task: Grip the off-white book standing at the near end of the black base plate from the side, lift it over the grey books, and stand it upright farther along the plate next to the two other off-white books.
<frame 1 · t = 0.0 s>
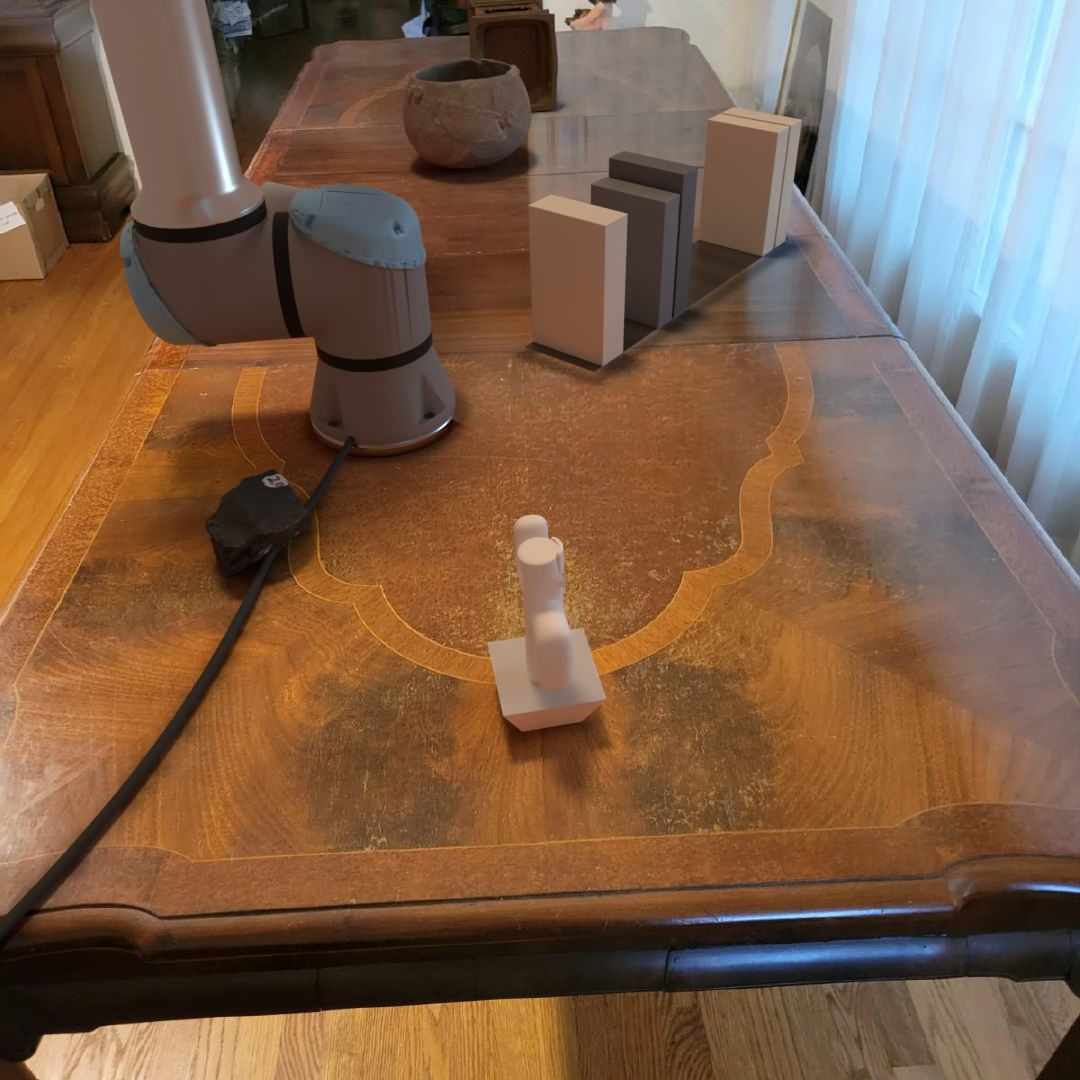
hand: (253, 30, 123), 28 cm above the table, tool pointing down, fingers open, 13 cm apart
white book: (577, 347, 112), point 1 cm above the table, touching black base plate
white books: (741, 240, 135), resting on black base plate
clay pot: (470, 164, 167), on the table
ornamental box: (510, 90, 202), on the table
grey books: (638, 307, 120), resting on black base plate
figurine: (546, 706, 72), on the table
mineral: (272, 546, 88), on the table
black base plate: (668, 296, 125), on the table
ceramic mug: (298, 236, 144), on the table
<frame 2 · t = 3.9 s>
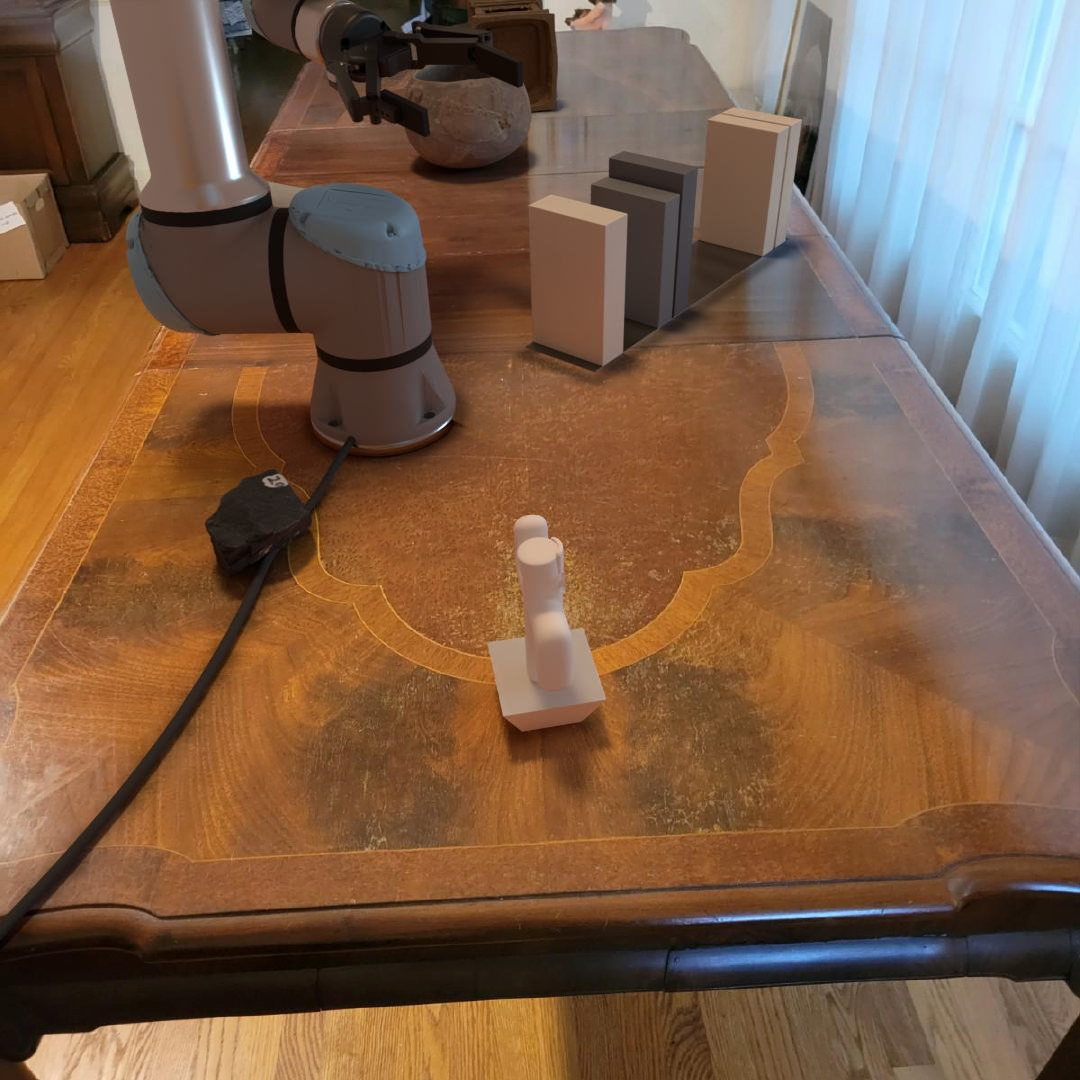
hand: (475, 98, 102), 27 cm above the table, tool horizontal, fingers open, 13 cm apart
nothing on the table moved.
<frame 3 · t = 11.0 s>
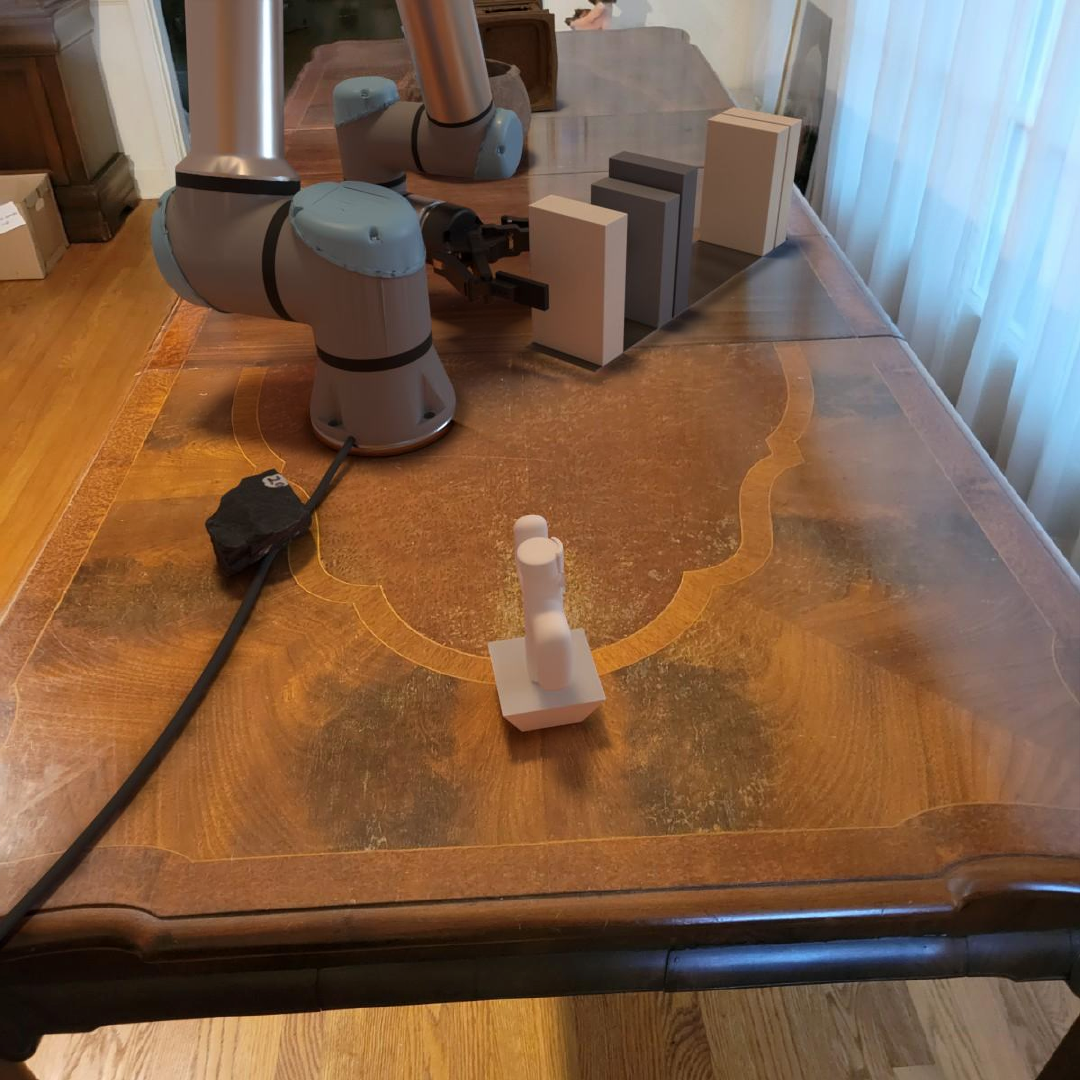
hand: (586, 275, 106), 10 cm above the table, tool horizontal, fingers open, 13 cm apart
nothing on the table moved.
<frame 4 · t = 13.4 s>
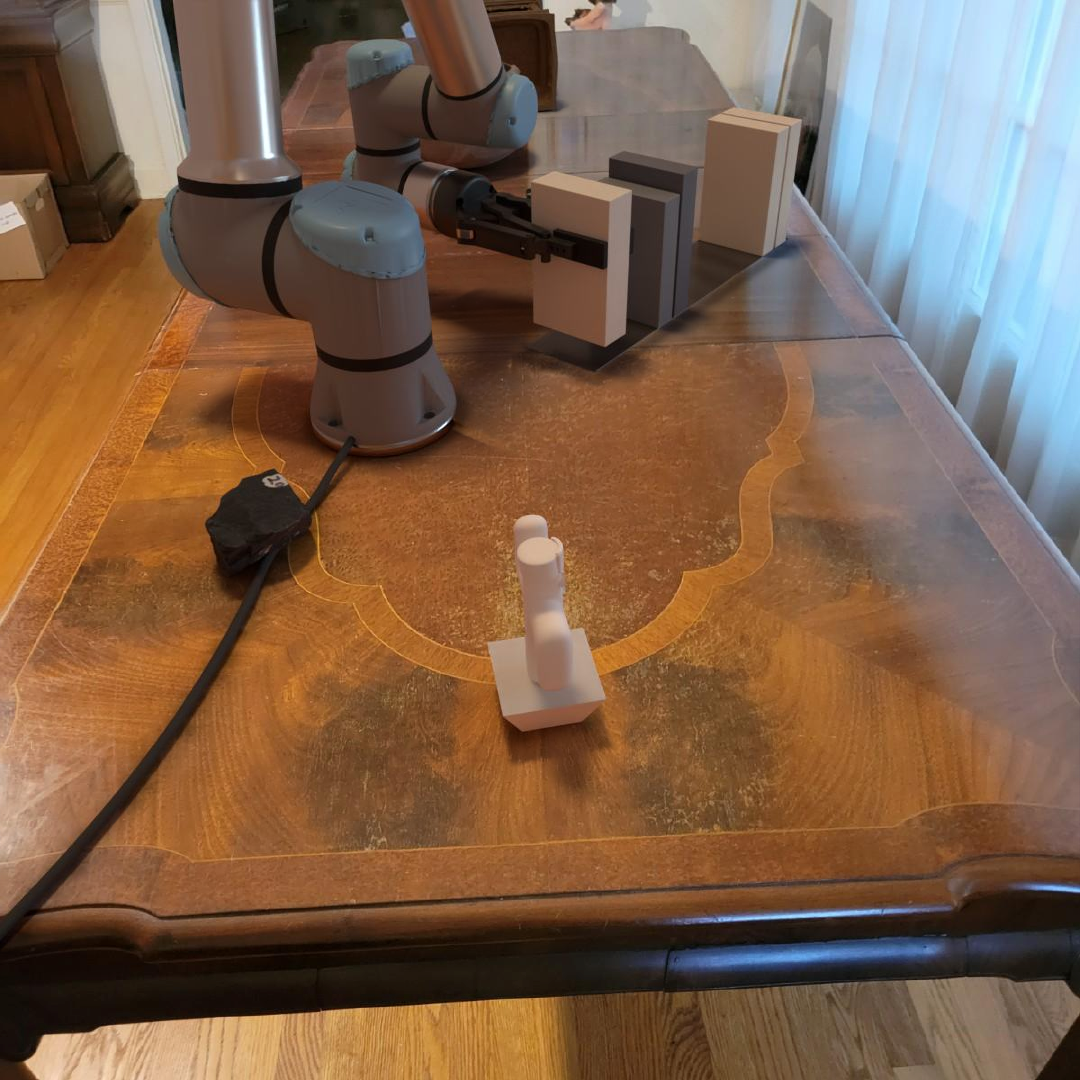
hand: (618, 248, 101), 14 cm above the table, tool horizontal, fingers closed on white book, 4 cm apart
white book: (579, 328, 110), point 4 cm above the table, touching gripper
everything else where it was.
when the fingers open (11 cm above the table, at t = 24.7 s): white book stays where it is, resting on black base plate.
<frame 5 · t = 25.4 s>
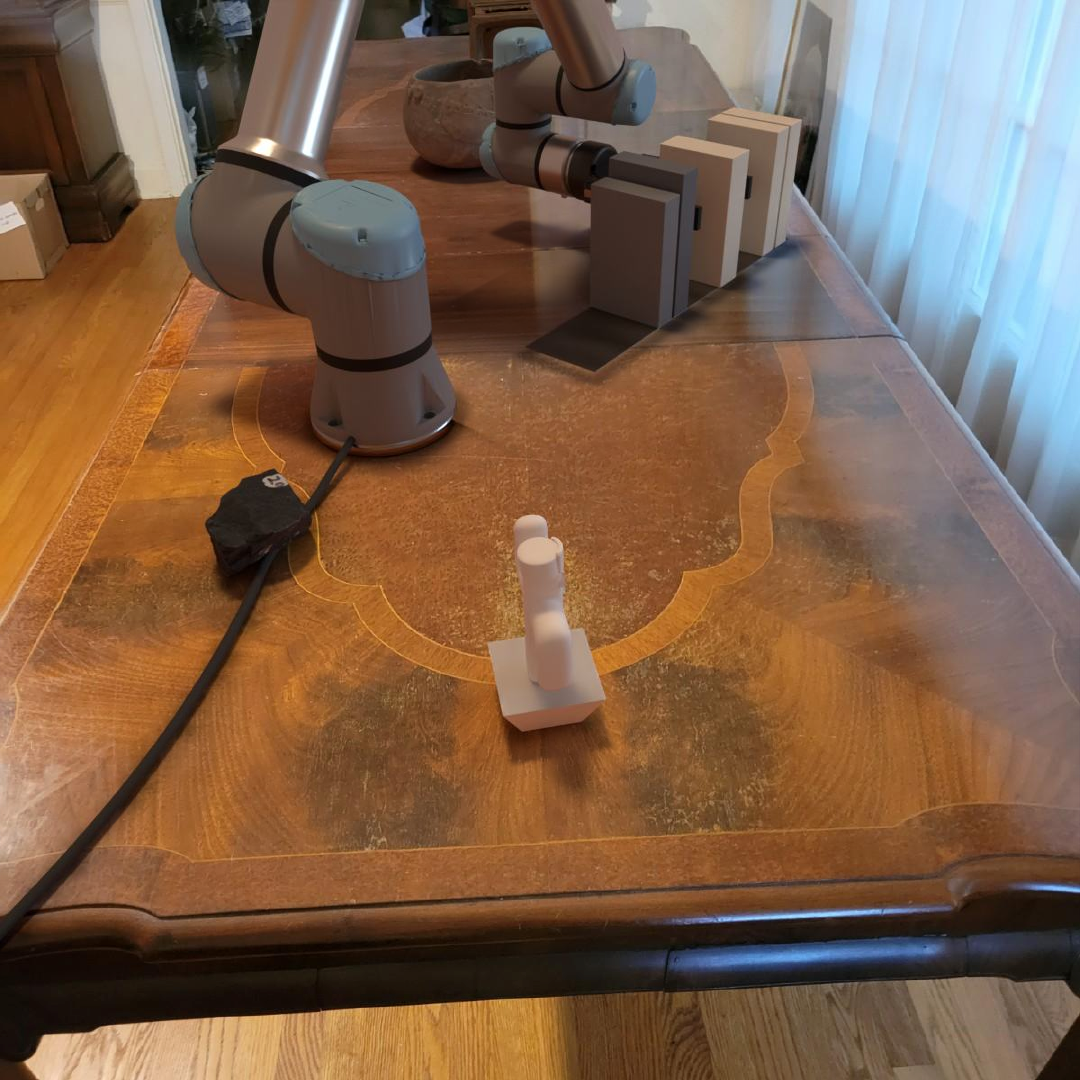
hand: (725, 203, 120), 11 cm above the table, tool horizontal, fingers open, 12 cm apart
white book: (694, 273, 127), point 1 cm above the table, touching black base plate
everything else where it was.
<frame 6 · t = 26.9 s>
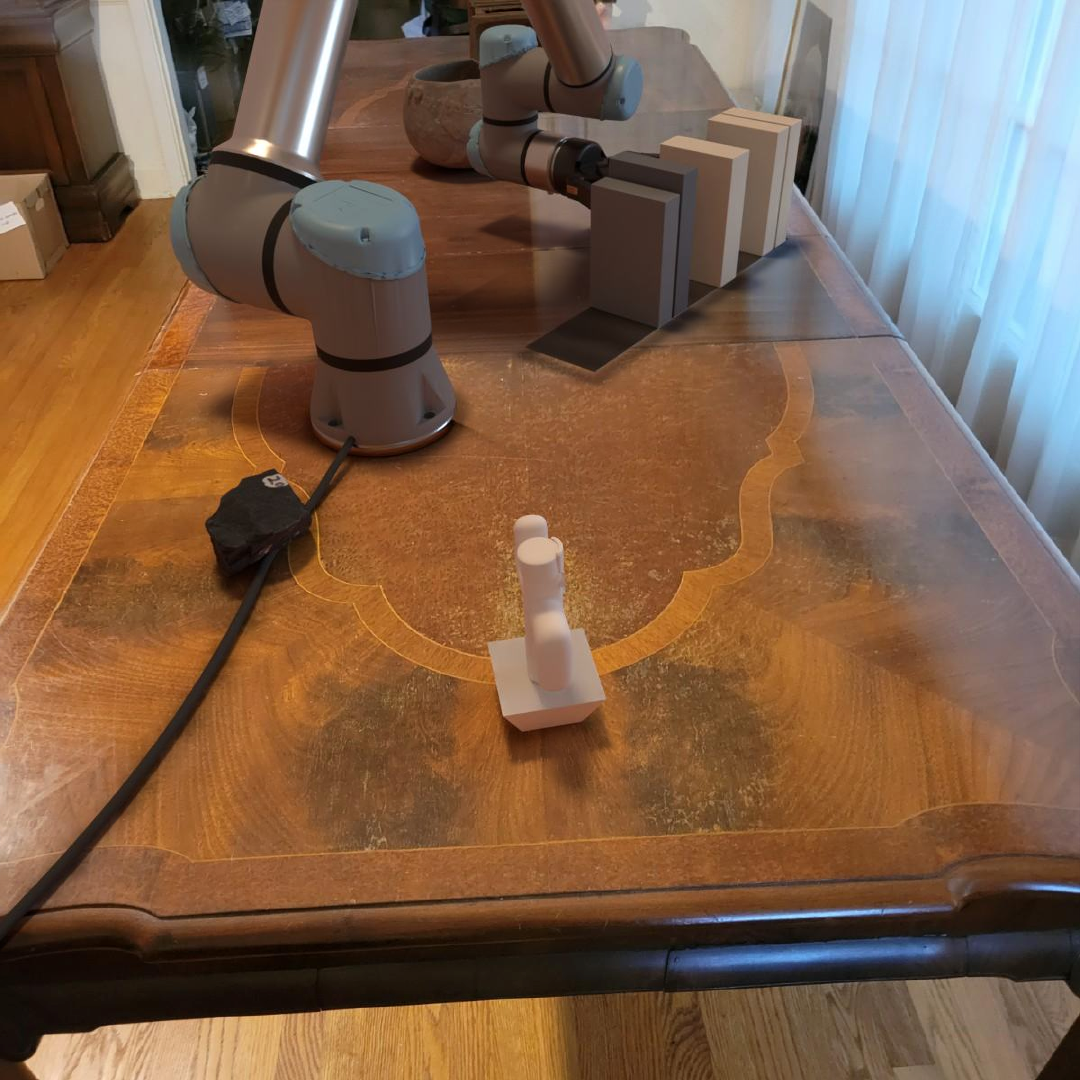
hand: (704, 198, 121), 11 cm above the table, tool horizontal, fingers open, 13 cm apart
nothing on the table moved.
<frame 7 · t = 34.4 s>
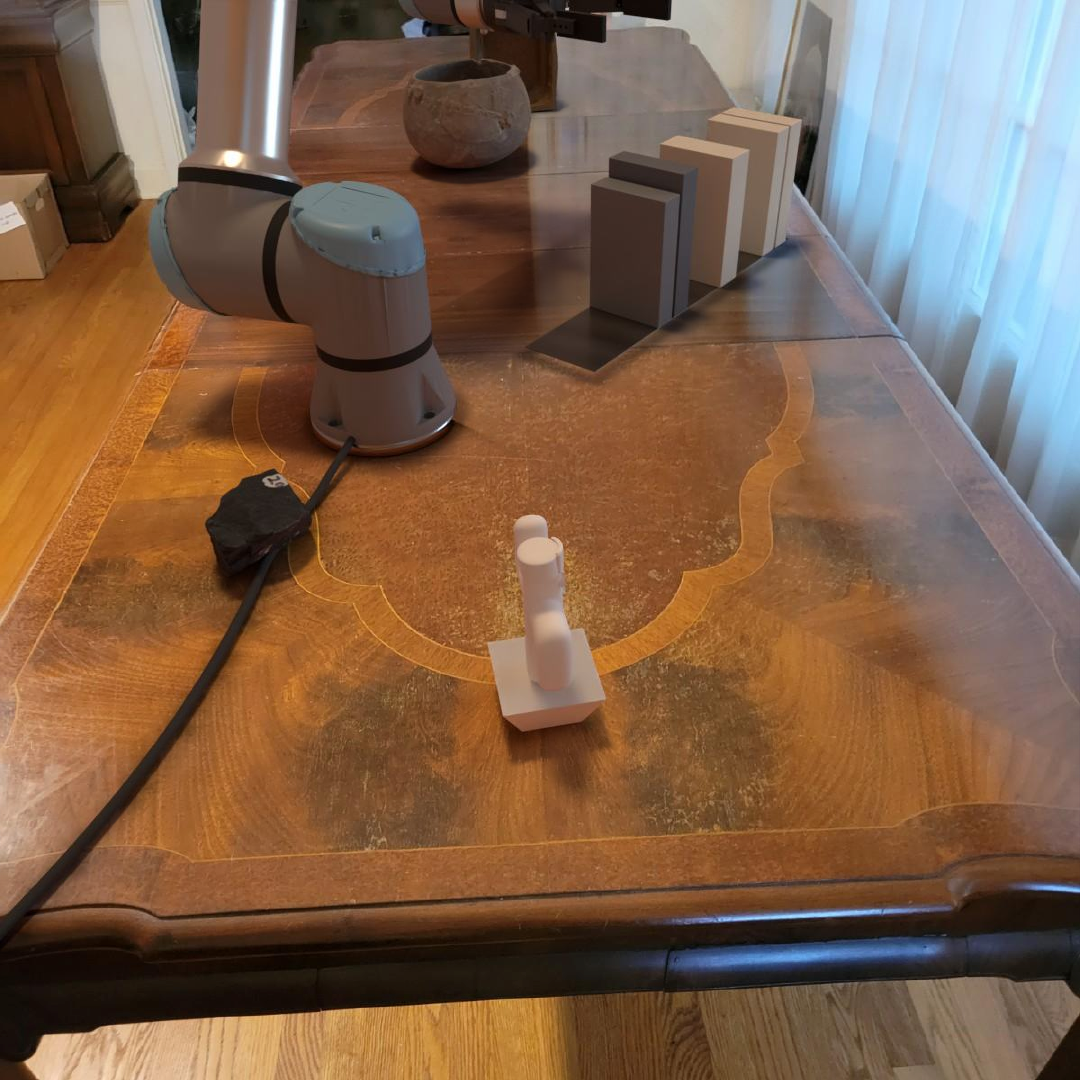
hand: (638, 18, 114), 30 cm above the table, tool horizontal, fingers open, 13 cm apart
nothing on the table moved.
at the end: white book 0.4 cm from the target spot on the table beside the white books, resting on black base plate; white book tilted 0°; the gripper is holding nothing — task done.
